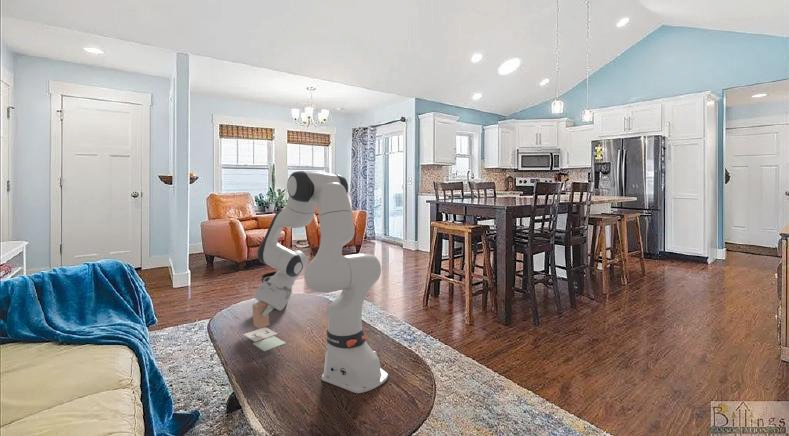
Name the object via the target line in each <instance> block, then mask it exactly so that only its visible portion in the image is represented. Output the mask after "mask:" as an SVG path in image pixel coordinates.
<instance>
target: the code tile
mask: <svg viewBox="0 0 789 436" xmlns="http://www.w3.org/2000/svg"><path fill="white" fill-rule="evenodd" d="M242 335H244V336H245V337H246V338H248V339H250V340H252V341H253V343H255V342H258V341H261V340H264V339H267V338H270V337H273V336H275V335H278V333H277V332H275V331H274V330H272V329H270V328H268V327H267V326H265V327H262V328H257V329H255V330H253V331H249V332H246V333H243V334H242Z"/></svg>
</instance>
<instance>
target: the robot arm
mask: <svg viewBox="0 0 789 436" xmlns="http://www.w3.org/2000/svg"><path fill="white" fill-rule="evenodd" d="M286 184H287V185H286V187H287V188H286V190H287V193H288V197H287V200H286V204H285V207H284V208H282V209H278V211H277V212H276V213H275V215H274V217H273V218H272V220H271V222H270V224H269V227H268V228H267V232H266V233H265V236H264V238H263V240H262V242H261V244H260V245H259V247H258V248H257V252H256V254H257V256H256V257H257V259H258V261H259V262H260V263H263V264H264V265H266V266H269V267H271V268H273V269H274V270H276V271H275V272H276V273H275V275H274V276H270V277H266V278H265V279H264V280H263V282H264V283H261V284H260V285H259V286H258V288H257V289H256V290H255V292H254V294H253V299H255V300H257V302H256V303H259V302H265V303H267V304H268V306H267V307H268V308H266V309H265V310H263V311H262V313H261V315H263V316H266V315H267V314H268V313H269V314H270V313H271V312H273V310H278V311H283V310H284V309H285V308H286V307H287V306H286V304H287V305H288V303H289V301H290V298H291V295H292V291H293V290H292V288H291V287H293V285H294V284H295V281H296V280H297V279H298V278H299V277H300V276H301V274H302V272H303V271H304V273H303V277H304V282H305V284H306V286H307V288H308V289H309V290H310V291H312V292H313V293H330V292H338V291H341V293H340V294H339V295H338V297H336V299H334V300H333V301H332V302H330V304H329V305H328V309H327V330H326V342H327V346H326V351H325V354H324V364H323V365H324V366H323V367H324V368H323V373H322V374H321V381H323V382H325V383H329V384H331V385H333V386H336V387H339V388H341V389H344V390H347V391H349V392H352V393H354V394H362V393H366V392H369V391H372V390H373V389H374V390H375V389H376V388H378V387H379V386H381V385H382V384H384V383H385V382H386V381H387V380H388V378H389V374H388V373H387V371H385V370H384V369H383V368H382V367H381V361H380V358H379V357H378V354H377V351H375V350H373V349H372V347H370V345H369V344H368V343H367V341H366V339H368V334H365V330H364V329H363V327H362V321H363V319H362V317H363V315H362V314H363V308H364V307H363V305H364V302H365V300H366V296H367V295H368V292H369V291H370V289H371V288H372V286H373V285H374V284H376V282H378V280H379V279H380V277H381V274H382V266H381V263H380V260H379V258H377V257H376V256H375V255H374V254H368V253H355V254H354V253H353V254H347V255H346V254H345V255H343V247H344V246H345V245H347V244H349V243H350V241H352V240H353V238H354V237H355V234H356V233H355V232H356V231H355V225H354V219H353V212H352V206H351V201H350V198H349V195H348V192H349V184H348V181H347V179H346V178H345V177H344V176H343V175H341V174H337V173H329V172H322V171H313V170H311V171H304V170H299V171H294V172H292V173H291V174H290V175H289V177H288V180H287V183H286ZM316 209H317V213H318V220H319V227H320V229H319V230H320V244H319V247H318V251H317V253H316V254H315V256H314V257H313V259H311V260H310V262H309V259H308V256H307V255H306V254H305V253H304V251H301V250H299V249H294V250H291V249H289V248H287V247H285V246H283V245H282V244H280V242H279V241H278V239H279V237H280V234H281V233H282V230H283V228H291V229H301V228H304V227H306V226H308V225H309V224H311V222H312V221H313V219H314V216H315V213H316ZM290 288H291V289H290ZM287 302H288V303H287ZM285 306H286V307H285ZM284 307H285V308H284ZM274 308H275V309H274Z"/></svg>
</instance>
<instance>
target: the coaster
mask: <svg viewBox="0 0 789 436" xmlns="http://www.w3.org/2000/svg"><path fill="white" fill-rule="evenodd" d="M286 344H287V342H286V341H284V340H281V339H280V338H278V337H277V336H275V335H273V336H270V337H267V338H264V339H261V340H258V341H255V342H253V343H252V345H253V346H255V347H256V348H258V349H259V350H261V351H262V352H267V351H270V350H273V349H275V348H278V347H281V346H284V345H286Z"/></svg>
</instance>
